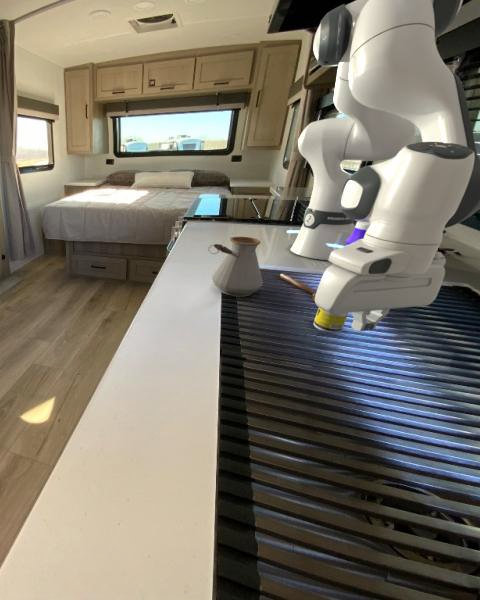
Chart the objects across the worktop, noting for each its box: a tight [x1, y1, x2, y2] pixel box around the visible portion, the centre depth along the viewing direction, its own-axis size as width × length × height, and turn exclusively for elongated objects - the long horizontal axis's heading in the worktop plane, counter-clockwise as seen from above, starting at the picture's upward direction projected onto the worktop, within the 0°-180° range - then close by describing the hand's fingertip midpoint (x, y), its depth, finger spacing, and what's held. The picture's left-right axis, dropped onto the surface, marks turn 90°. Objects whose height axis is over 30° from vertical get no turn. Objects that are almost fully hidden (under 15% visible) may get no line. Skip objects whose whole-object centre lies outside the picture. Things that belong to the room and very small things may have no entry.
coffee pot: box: [208, 236, 264, 298], centre depth 76 cm, size 21×12×15 cm, turn 132°
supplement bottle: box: [313, 307, 349, 334], centre depth 64 cm, size 5×5×8 cm
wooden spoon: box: [279, 273, 317, 302], centre depth 82 cm, size 17×4×1 cm, turn 8°
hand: (362, 329), depth 59 cm, fingers closed
